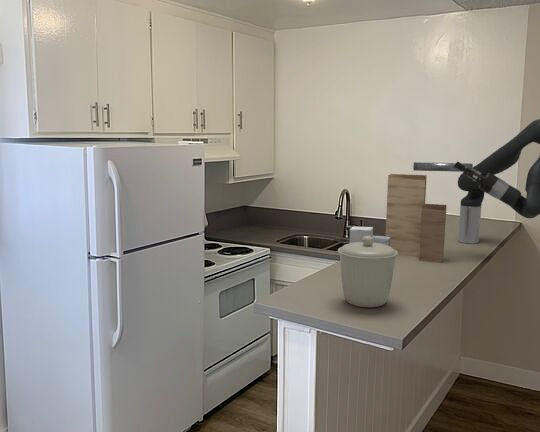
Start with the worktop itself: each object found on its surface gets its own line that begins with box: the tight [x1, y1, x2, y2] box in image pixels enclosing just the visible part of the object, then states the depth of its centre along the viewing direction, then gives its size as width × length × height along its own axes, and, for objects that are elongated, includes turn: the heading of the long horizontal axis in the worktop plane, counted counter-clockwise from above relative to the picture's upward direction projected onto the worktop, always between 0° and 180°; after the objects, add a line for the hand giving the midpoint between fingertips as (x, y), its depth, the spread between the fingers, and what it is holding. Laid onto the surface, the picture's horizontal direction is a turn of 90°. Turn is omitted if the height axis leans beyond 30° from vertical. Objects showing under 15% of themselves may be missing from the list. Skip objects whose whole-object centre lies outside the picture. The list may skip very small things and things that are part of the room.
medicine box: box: [373, 235, 390, 246], centre depth 231 cm, size 8×4×9 cm, turn 65°
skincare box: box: [349, 226, 374, 243], centre depth 214 cm, size 8×7×16 cm
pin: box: [412, 161, 474, 173], centre depth 229 cm, size 3×23×3 cm, turn 69°
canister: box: [337, 236, 398, 308], centre depth 172 cm, size 18×18×21 cm
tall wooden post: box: [418, 203, 447, 264], centre depth 227 cm, size 7×9×22 cm
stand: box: [385, 173, 427, 257], centre depth 237 cm, size 7×15×34 cm, turn 70°
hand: (455, 163), depth 226 cm, fingers closed on pin, 3 cm apart
